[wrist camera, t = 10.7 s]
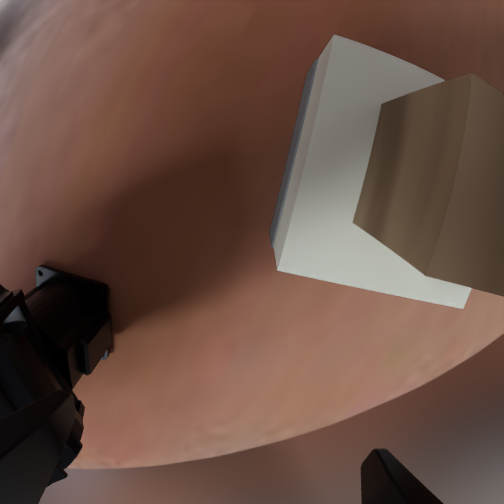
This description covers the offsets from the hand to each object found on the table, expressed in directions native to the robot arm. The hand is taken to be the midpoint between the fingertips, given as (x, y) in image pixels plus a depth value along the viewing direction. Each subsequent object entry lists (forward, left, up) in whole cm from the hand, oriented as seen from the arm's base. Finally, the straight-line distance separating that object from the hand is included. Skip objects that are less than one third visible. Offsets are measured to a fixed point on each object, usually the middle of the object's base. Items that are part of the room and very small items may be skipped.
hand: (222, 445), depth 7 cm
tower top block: (+6, +8, -10) cm, 14 cm away
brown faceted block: (+6, +8, -6) cm, 12 cm away
